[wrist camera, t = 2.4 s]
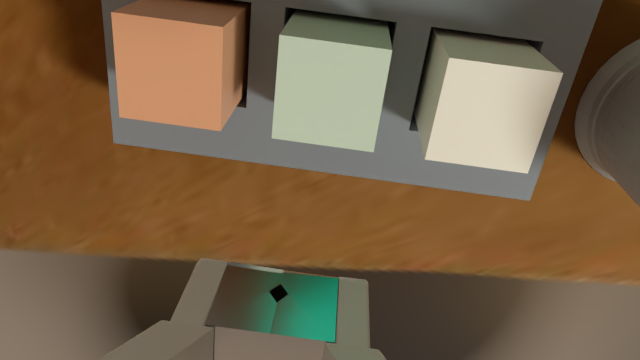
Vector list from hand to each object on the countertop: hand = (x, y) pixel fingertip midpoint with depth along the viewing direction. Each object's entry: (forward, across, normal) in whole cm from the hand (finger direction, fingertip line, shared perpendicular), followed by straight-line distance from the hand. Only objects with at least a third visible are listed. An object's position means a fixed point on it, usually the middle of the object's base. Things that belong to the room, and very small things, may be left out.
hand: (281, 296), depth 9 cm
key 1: (+17, +6, 0) cm, 18 cm away
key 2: (+17, -6, 0) cm, 18 cm away
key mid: (+17, 0, 0) cm, 17 cm away
